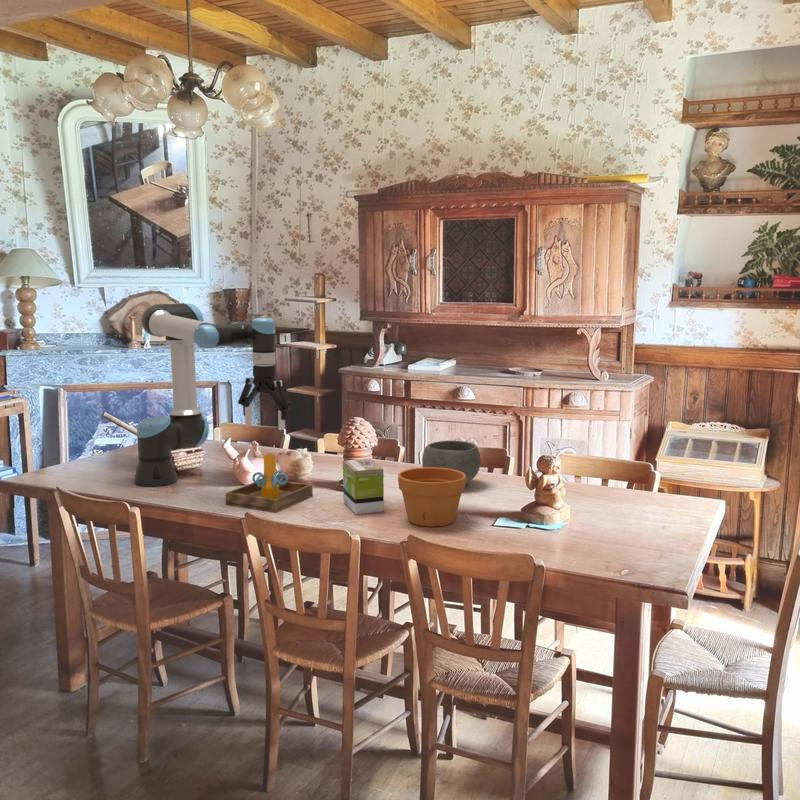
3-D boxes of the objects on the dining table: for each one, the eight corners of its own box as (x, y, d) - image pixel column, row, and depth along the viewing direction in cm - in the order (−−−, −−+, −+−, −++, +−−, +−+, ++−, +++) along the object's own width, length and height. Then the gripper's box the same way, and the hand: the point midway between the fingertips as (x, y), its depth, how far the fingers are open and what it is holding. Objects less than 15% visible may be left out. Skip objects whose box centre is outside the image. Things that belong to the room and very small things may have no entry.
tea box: (342, 502, 281) (341, 459, 279) (370, 500, 284) (370, 457, 282) (354, 515, 267) (354, 469, 265) (384, 512, 270) (384, 467, 268)
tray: (226, 504, 278) (225, 492, 277) (264, 489, 297) (264, 478, 297) (276, 512, 269) (275, 500, 269) (312, 496, 289) (312, 484, 288)
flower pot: (403, 509, 274) (404, 464, 271) (468, 512, 270) (468, 467, 268) (392, 528, 253) (392, 480, 251) (461, 532, 249) (462, 484, 247)
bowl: (453, 475, 318) (454, 437, 316) (492, 487, 302) (493, 446, 299) (410, 484, 305) (410, 443, 303) (447, 496, 289) (448, 453, 287)
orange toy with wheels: (291, 494, 288) (291, 451, 285) (284, 502, 277) (284, 457, 275) (256, 492, 289) (255, 450, 286) (248, 501, 278) (247, 456, 276)
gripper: (226, 363, 281) (228, 425, 284) (289, 368, 270) (289, 433, 273) (240, 361, 287) (241, 422, 291) (301, 366, 276) (302, 429, 280)
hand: (265, 427), depth 282 cm, fingers open, 13 cm apart
